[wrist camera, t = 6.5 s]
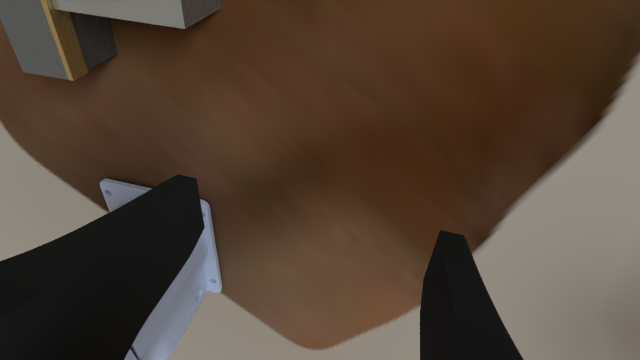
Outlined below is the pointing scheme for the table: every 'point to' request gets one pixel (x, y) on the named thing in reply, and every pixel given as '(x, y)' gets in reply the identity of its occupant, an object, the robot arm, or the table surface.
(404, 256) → the table surface
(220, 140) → the table surface
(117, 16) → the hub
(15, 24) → the end block
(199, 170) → the table surface
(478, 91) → the table surface
